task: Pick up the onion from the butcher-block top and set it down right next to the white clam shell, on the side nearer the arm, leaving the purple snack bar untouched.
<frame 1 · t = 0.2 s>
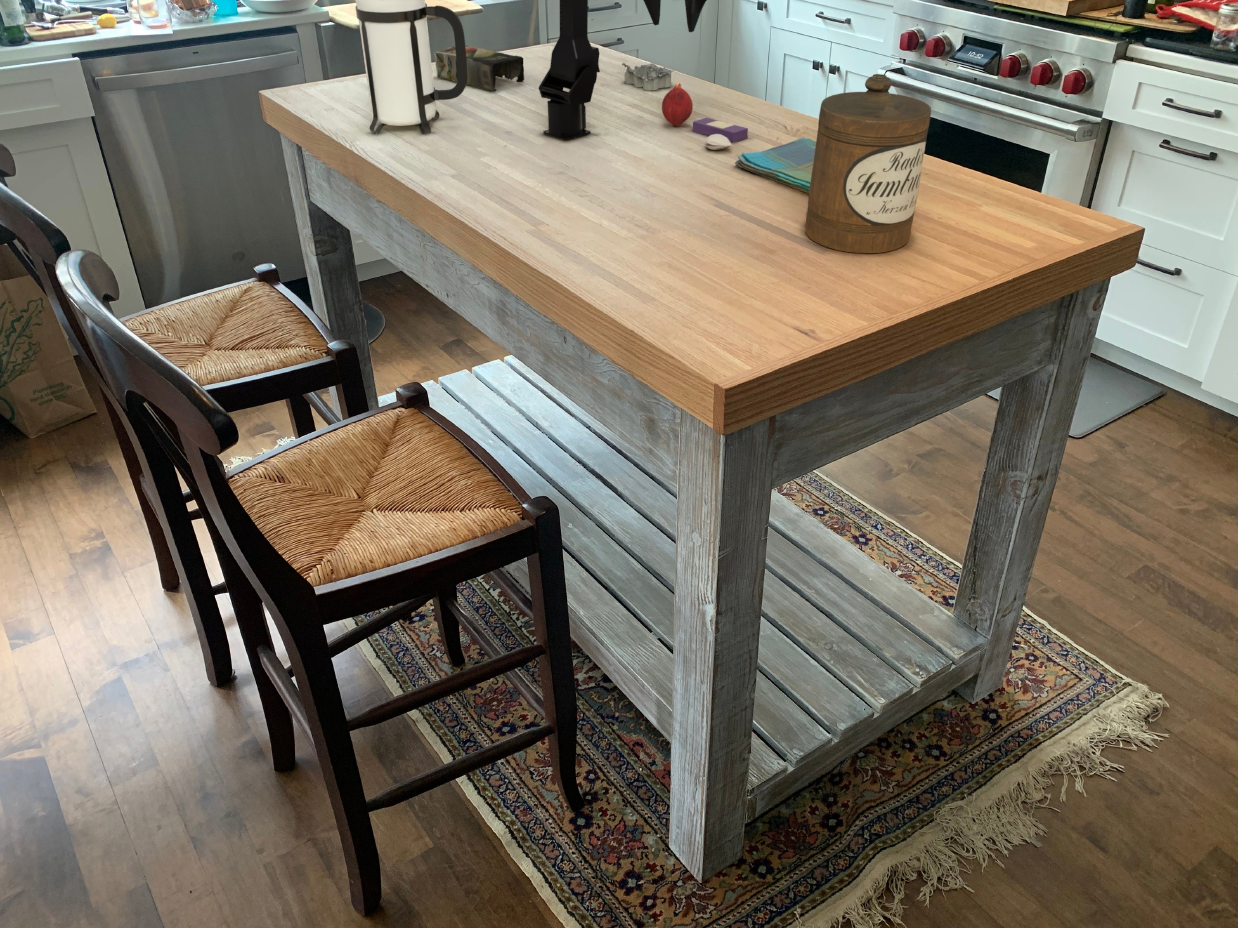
hand: (673, 28, 191), 15 cm above the countertop, tool pointing down, fingers open, 9 cm apart
coffee press: (412, 126, 188), on the countertop
egg carton: (648, 85, 213), on the countertop
white clam shell: (719, 151, 175), on the countertop
dish towel: (819, 177, 163), on the countertop
onion: (676, 128, 187), on the countertop
juice carton: (480, 82, 216), on the countertop
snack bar: (719, 135, 183), on the countertop
wooden container: (856, 235, 142), on the countertop
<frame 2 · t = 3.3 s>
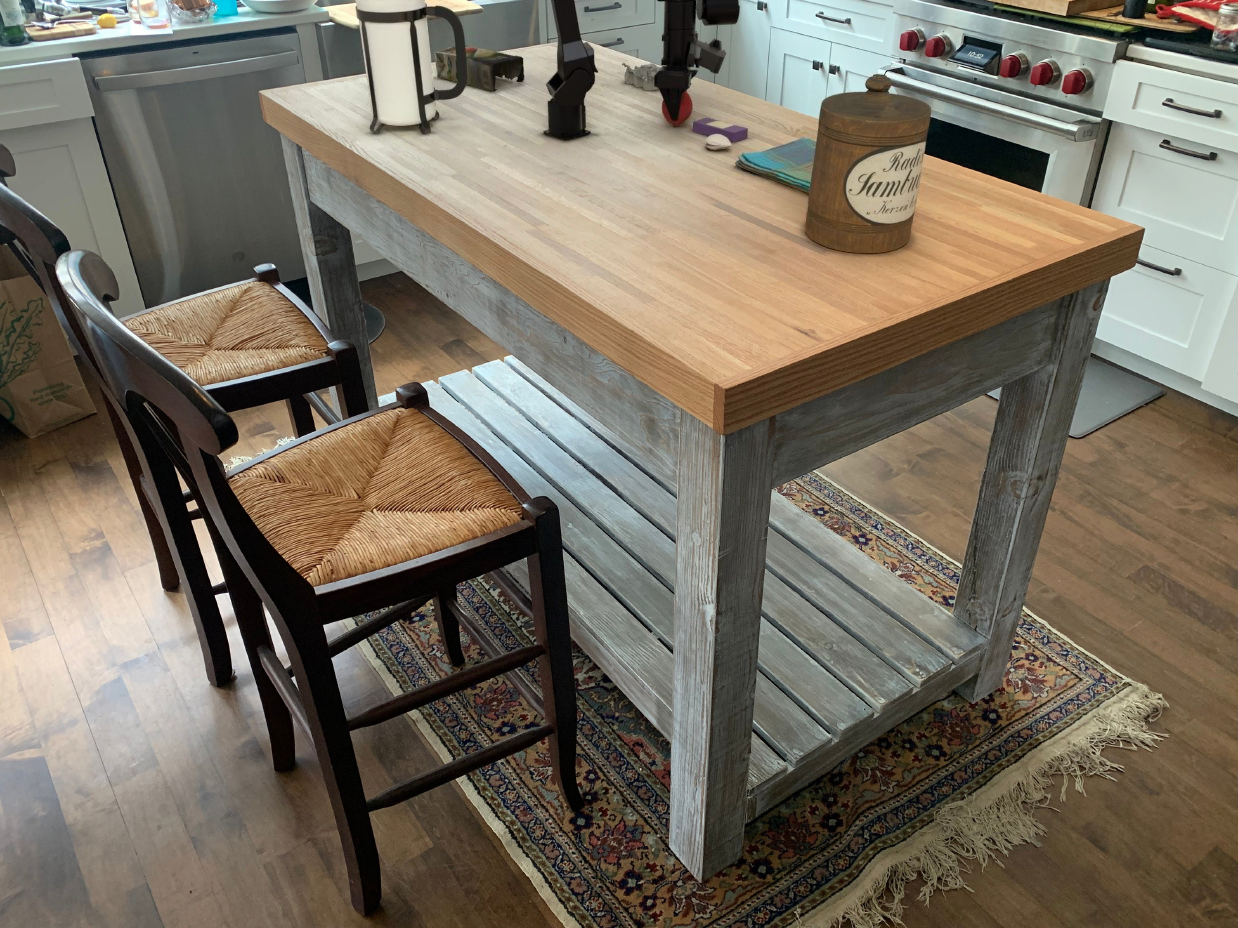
hand: (676, 116, 186), 2 cm above the countertop, tool pointing down, fingers closed on onion, 6 cm apart
onion: (676, 128, 187), on the countertop, touching gripper
everything else where it was.
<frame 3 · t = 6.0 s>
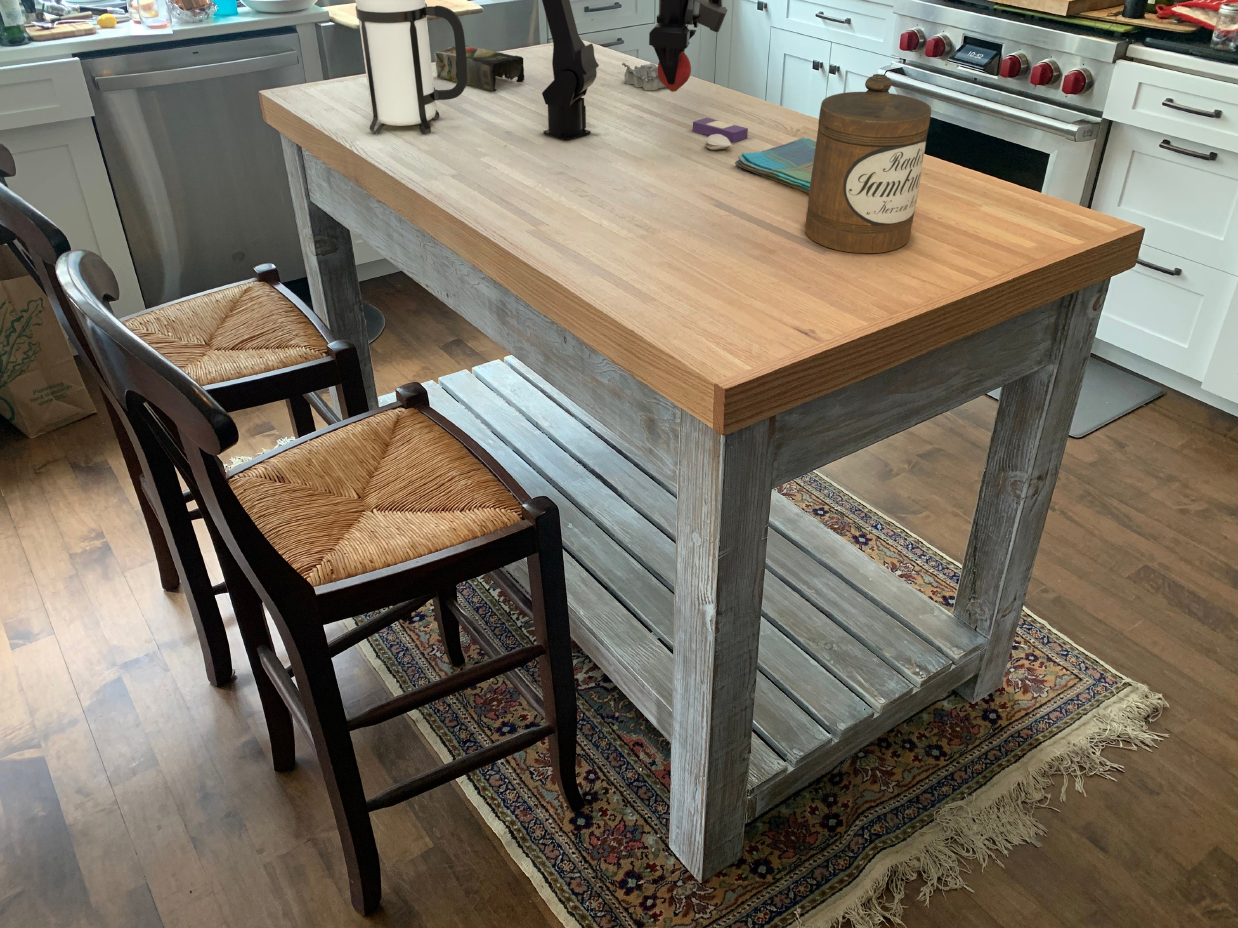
hand: (673, 80, 171), 11 cm above the countertop, tool pointing down, fingers closed on onion, 6 cm apart
onion: (673, 93, 172), point 9 cm above the countertop, touching gripper
everything else where it was.
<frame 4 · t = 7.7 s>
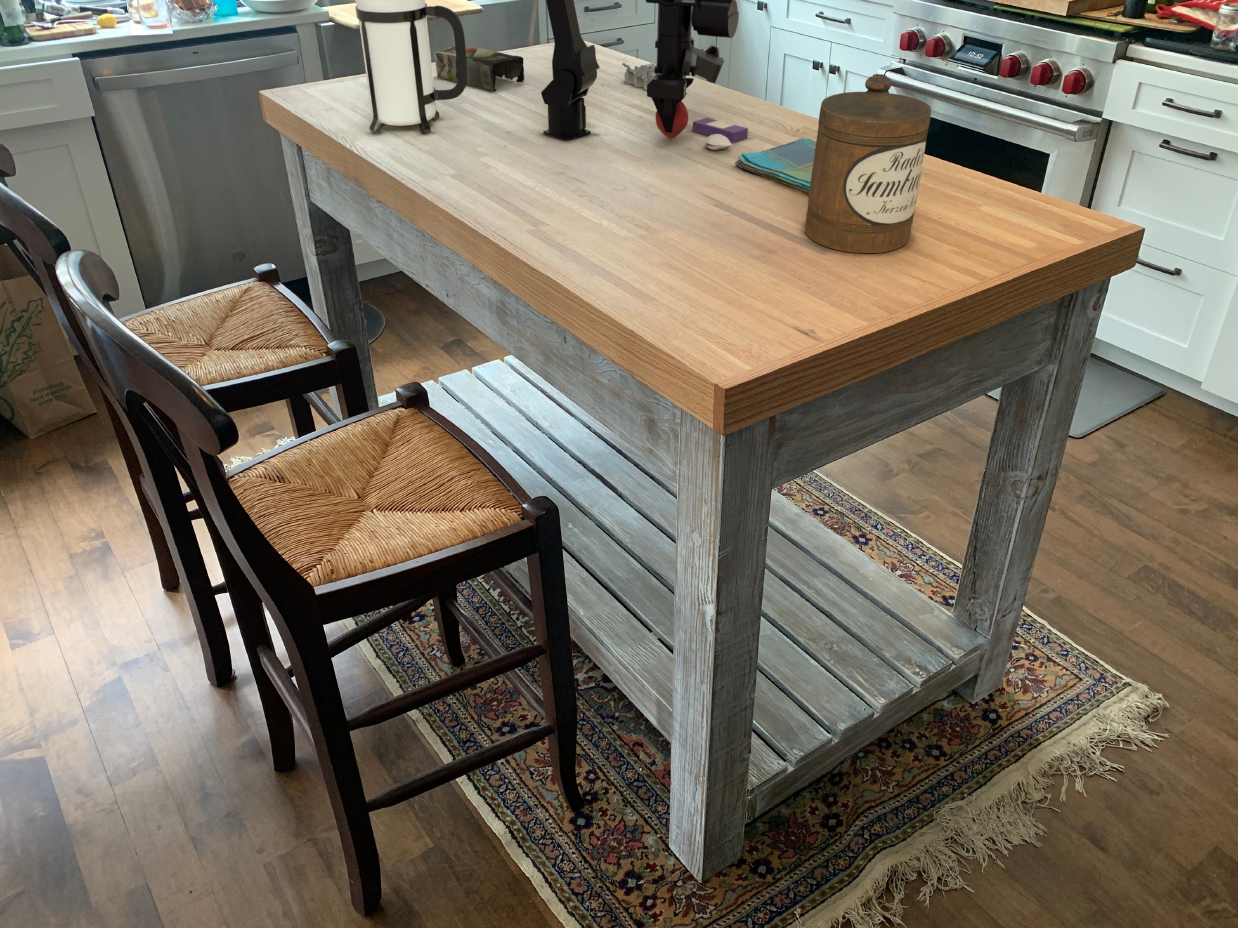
hand: (671, 127, 174), 4 cm above the countertop, tool pointing down, fingers closed on onion, 6 cm apart
onion: (671, 140, 176), point 1 cm above the countertop, touching gripper
everything else where it was.
when the fingers open (2 cm above the countertop, at t = 8.7 s): onion stays where it is, on the countertop.
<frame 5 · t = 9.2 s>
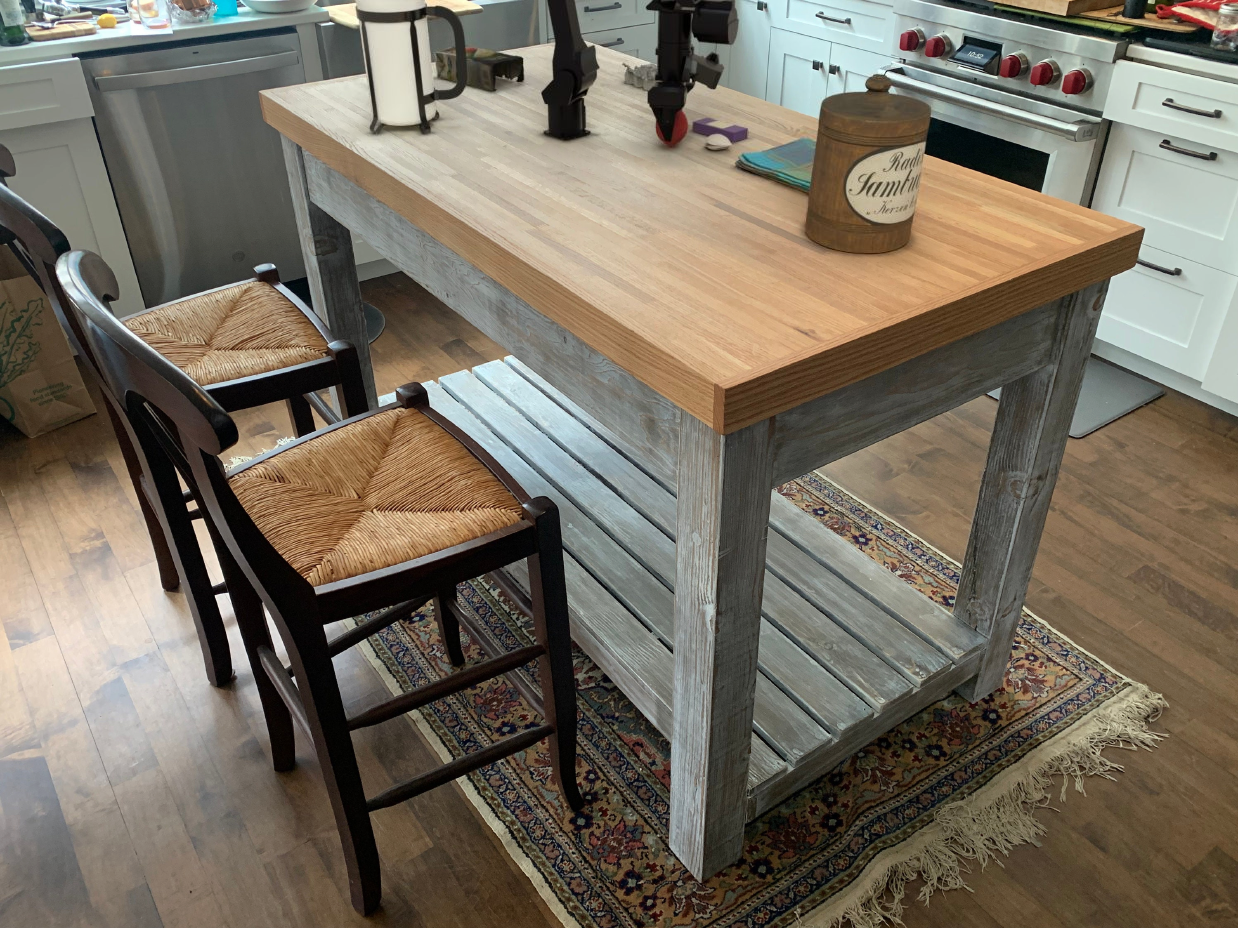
hand: (671, 134, 175), 2 cm above the countertop, tool pointing down, fingers open, 9 cm apart
onion: (671, 148, 176), on the countertop
everything else where it was.
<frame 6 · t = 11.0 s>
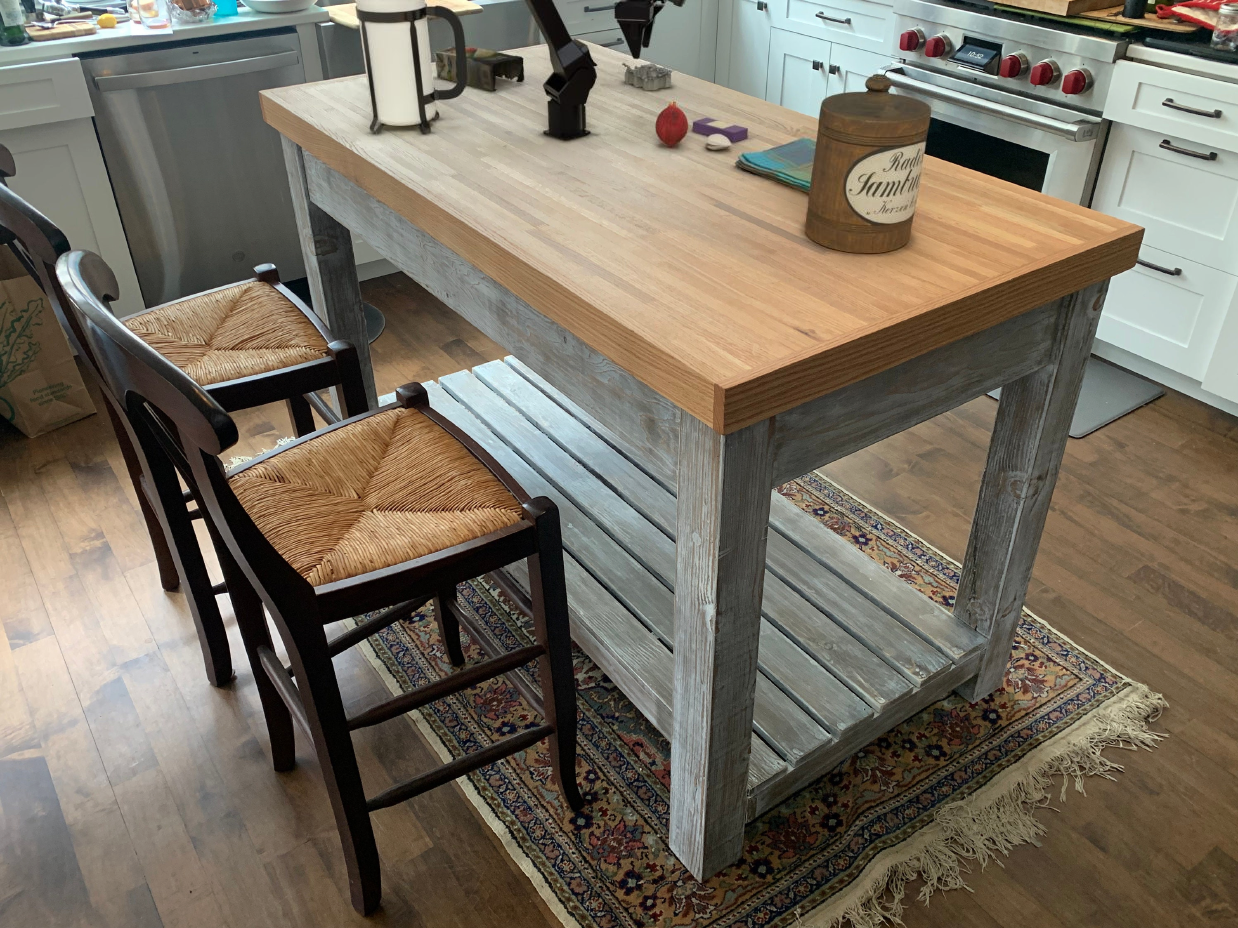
hand: (641, 53, 180), 13 cm above the countertop, tool pointing down, fingers open, 9 cm apart
nothing on the countertop moved.
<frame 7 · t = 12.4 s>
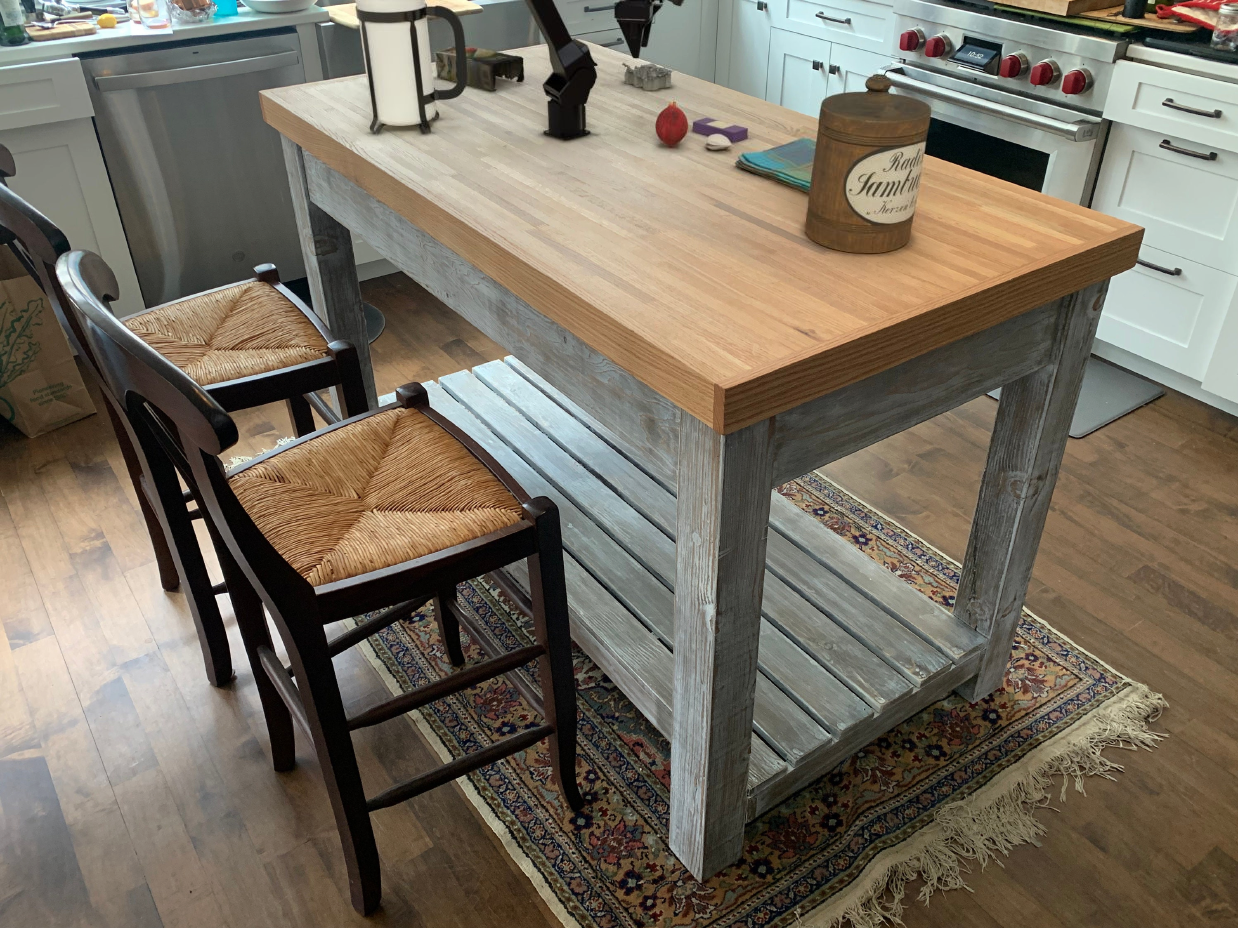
hand: (640, 52, 181), 13 cm above the countertop, tool pointing down, fingers open, 9 cm apart
nothing on the countertop moved.
at the end: onion 8.7 cm from the white clam shell (horizontally); onion moved 12.7 cm from its start; white clam shell moved 0.2 cm from its start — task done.
